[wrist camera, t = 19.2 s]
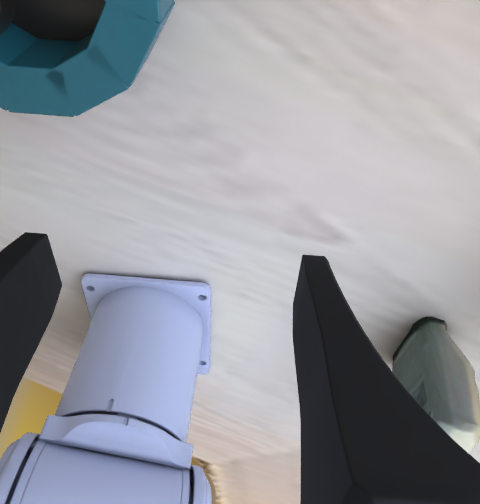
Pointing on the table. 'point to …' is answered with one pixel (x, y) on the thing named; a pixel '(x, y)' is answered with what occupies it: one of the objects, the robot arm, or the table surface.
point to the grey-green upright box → (440, 380)
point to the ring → (79, 60)
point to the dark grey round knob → (52, 17)
